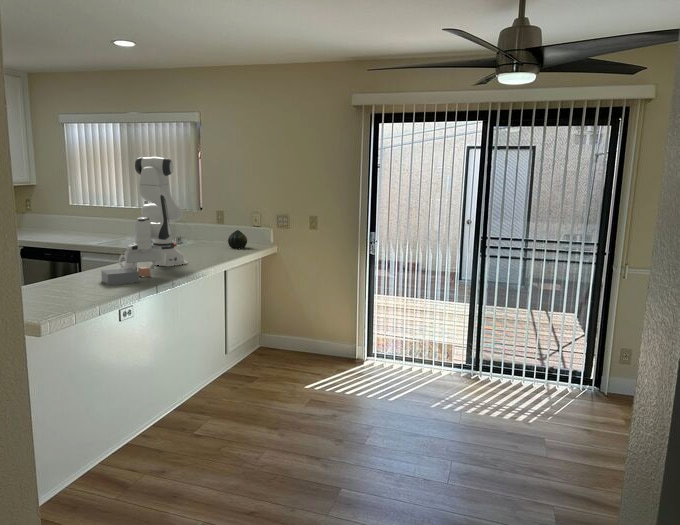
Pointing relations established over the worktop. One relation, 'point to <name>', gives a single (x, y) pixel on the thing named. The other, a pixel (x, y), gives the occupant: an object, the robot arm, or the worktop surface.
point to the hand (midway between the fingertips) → (143, 269)
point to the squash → (237, 240)
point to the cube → (144, 271)
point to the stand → (120, 276)
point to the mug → (127, 265)
